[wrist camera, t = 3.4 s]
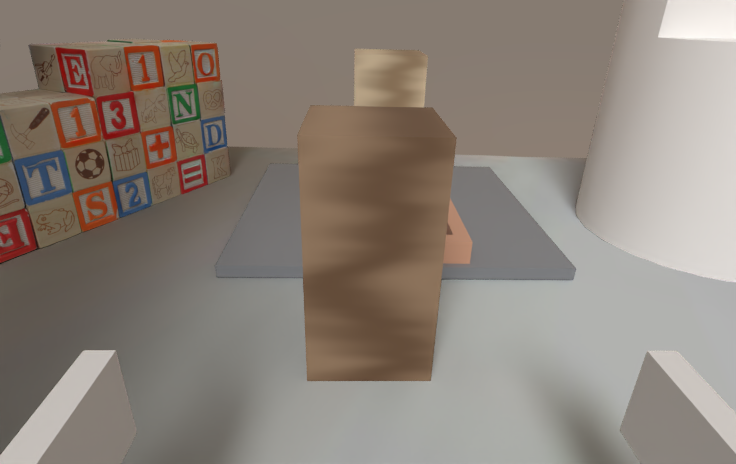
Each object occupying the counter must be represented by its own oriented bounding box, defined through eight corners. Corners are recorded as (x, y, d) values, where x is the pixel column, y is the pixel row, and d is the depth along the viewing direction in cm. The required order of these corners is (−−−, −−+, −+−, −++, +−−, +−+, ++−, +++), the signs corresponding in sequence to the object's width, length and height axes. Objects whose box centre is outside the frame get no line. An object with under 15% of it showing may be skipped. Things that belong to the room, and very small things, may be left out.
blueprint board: (216, 277, 28) (212, 243, 27) (270, 171, 47) (269, 148, 46) (573, 279, 29) (581, 246, 28) (488, 174, 48) (491, 152, 47)
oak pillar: (353, 192, 40) (354, 54, 35) (353, 171, 45) (354, 48, 40) (417, 193, 40) (427, 56, 35) (410, 172, 45) (418, 50, 40)
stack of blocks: (-13, 272, 29) (-93, 58, 23) (-65, 248, 31) (-148, 50, 26) (232, 176, 46) (218, 40, 40) (185, 165, 48) (167, 36, 43)
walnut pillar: (307, 380, 21) (297, 134, 16) (316, 309, 26) (310, 105, 21) (430, 380, 21) (456, 137, 16) (415, 309, 26) (432, 107, 21)
